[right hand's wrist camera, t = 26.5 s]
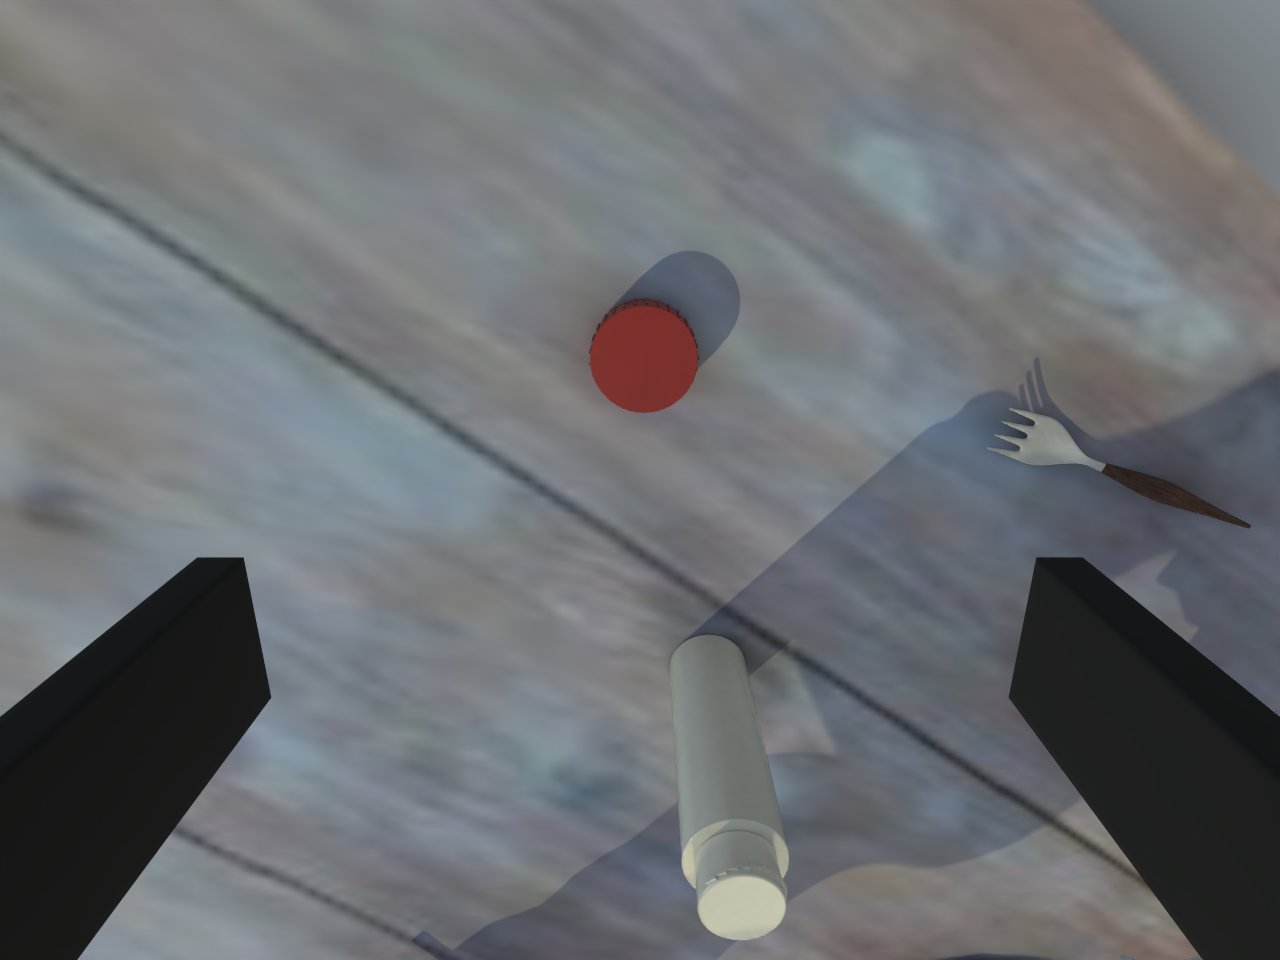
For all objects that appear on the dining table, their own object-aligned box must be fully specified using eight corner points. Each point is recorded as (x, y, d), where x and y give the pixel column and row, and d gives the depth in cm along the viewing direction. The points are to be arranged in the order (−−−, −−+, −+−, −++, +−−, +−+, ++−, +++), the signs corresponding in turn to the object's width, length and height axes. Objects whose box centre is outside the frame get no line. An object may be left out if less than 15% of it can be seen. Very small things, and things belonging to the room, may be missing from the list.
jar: (761, 667, 44) (824, 909, 29) (705, 712, 45) (737, 967, 30) (709, 620, 43) (747, 845, 28) (653, 666, 44) (660, 908, 29)
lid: (606, 284, 37) (604, 290, 34) (709, 314, 37) (713, 321, 35) (580, 386, 38) (576, 398, 36) (679, 412, 39) (681, 426, 37)
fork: (1228, 544, 41) (1255, 560, 39) (968, 440, 39) (985, 452, 37) (1258, 502, 40) (1288, 516, 38) (994, 394, 38) (1012, 404, 36)
